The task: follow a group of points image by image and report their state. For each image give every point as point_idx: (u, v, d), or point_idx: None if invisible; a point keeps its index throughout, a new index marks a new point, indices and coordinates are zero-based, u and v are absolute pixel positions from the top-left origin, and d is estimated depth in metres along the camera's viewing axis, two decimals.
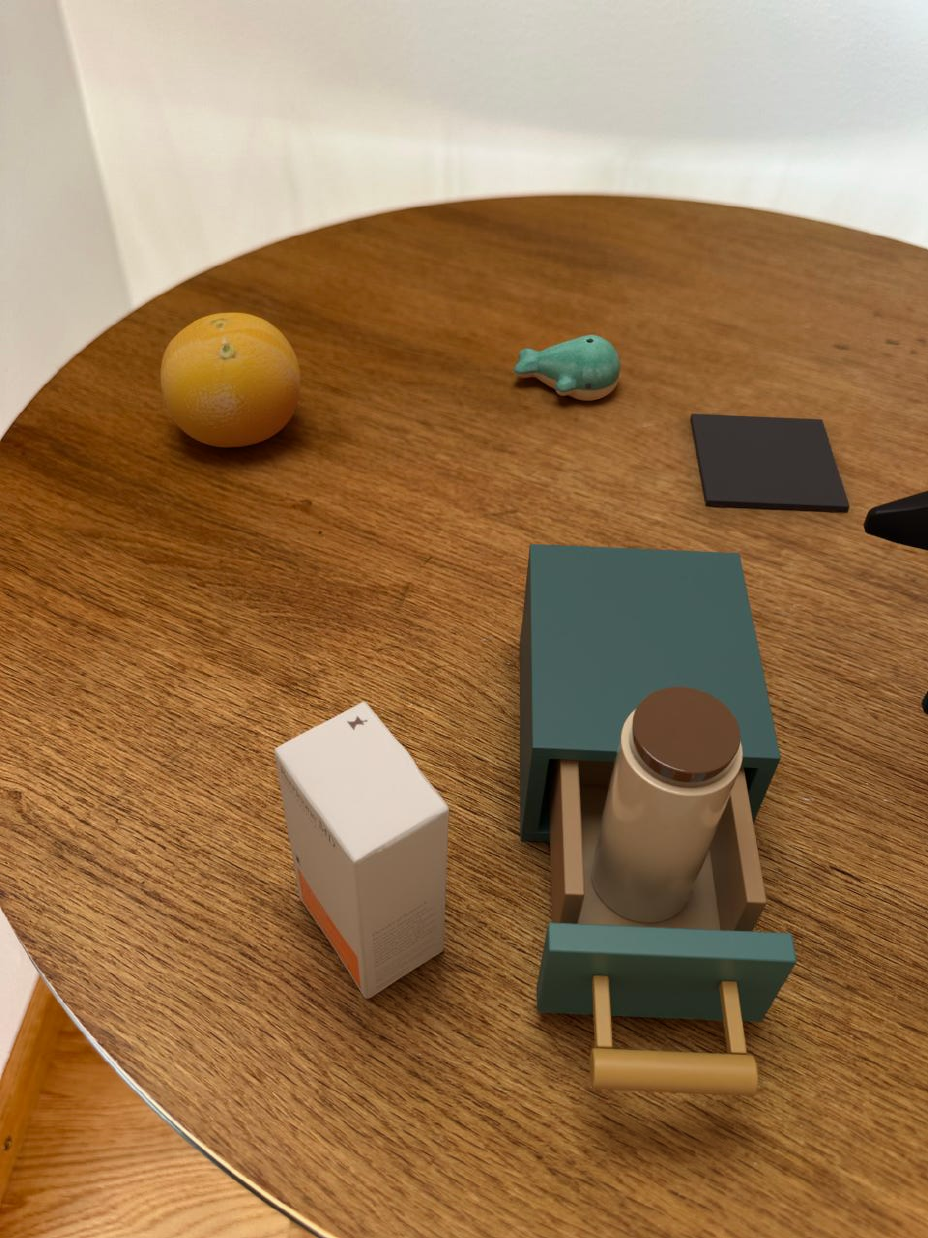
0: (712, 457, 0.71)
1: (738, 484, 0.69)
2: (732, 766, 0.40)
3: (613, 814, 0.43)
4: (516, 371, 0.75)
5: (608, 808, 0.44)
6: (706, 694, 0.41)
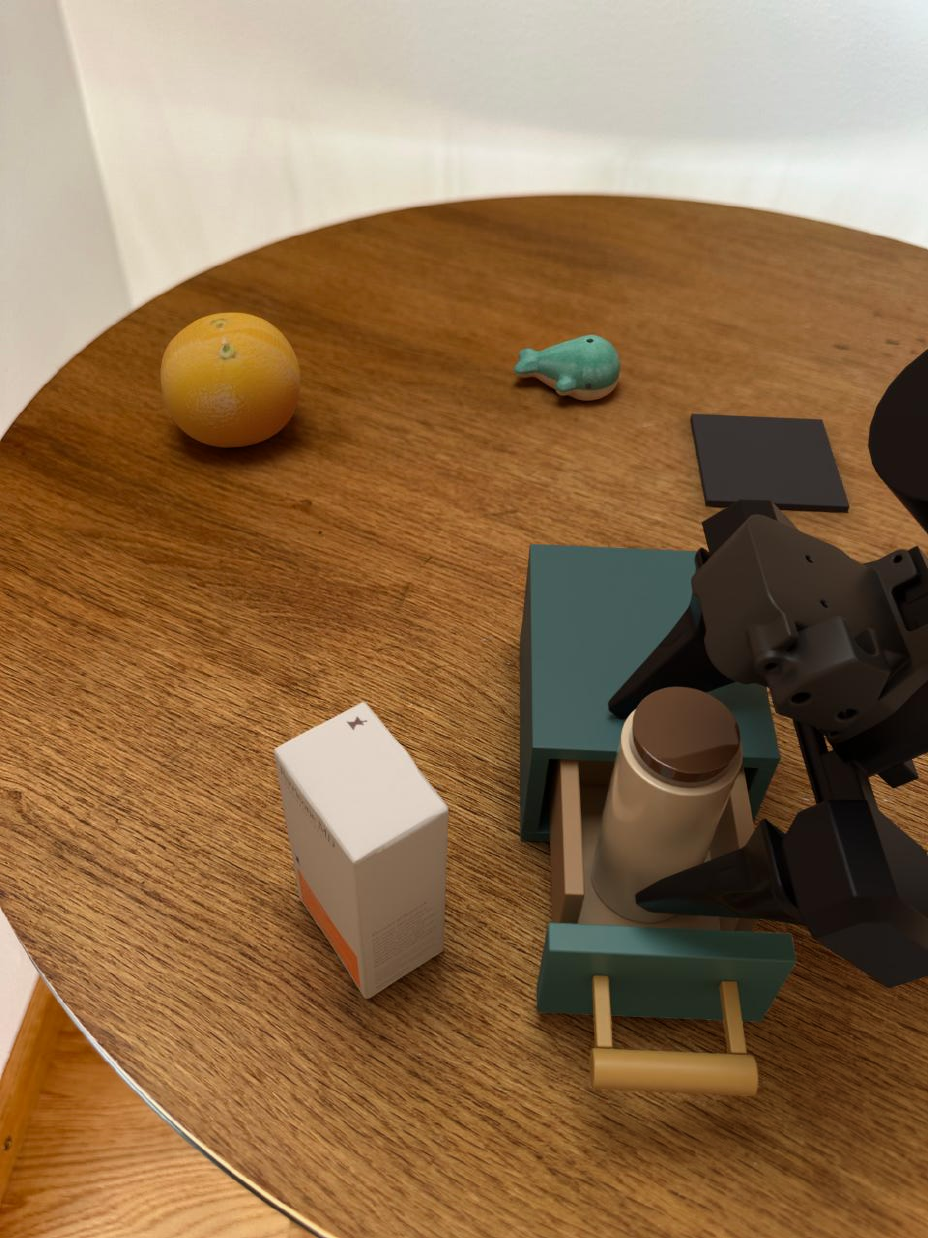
0: (712, 457, 0.71)
1: (738, 484, 0.69)
2: (732, 766, 0.40)
3: (613, 814, 0.43)
4: (516, 370, 0.75)
5: (608, 808, 0.44)
6: (706, 694, 0.41)
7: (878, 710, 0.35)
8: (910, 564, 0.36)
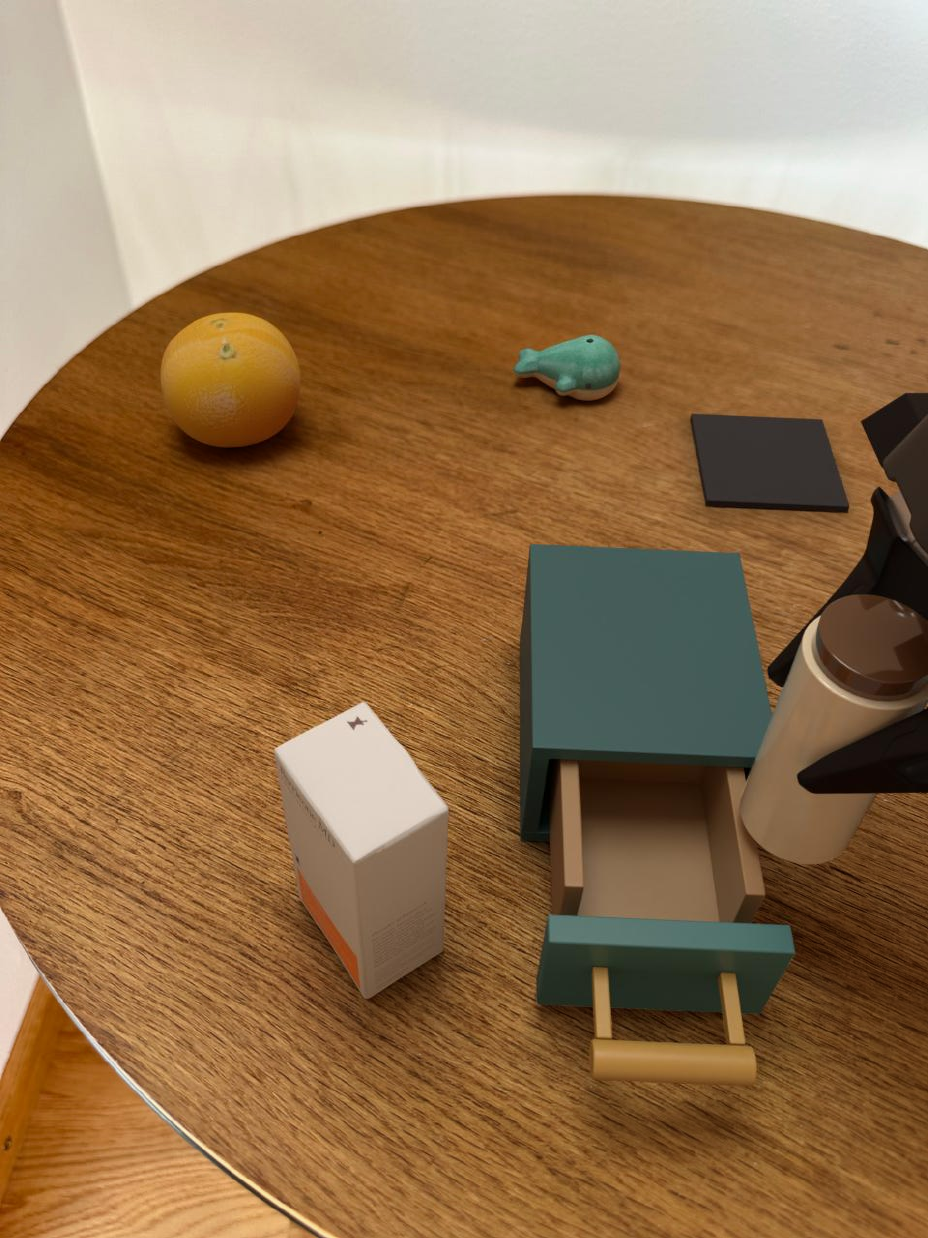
0: (712, 457, 0.71)
1: (738, 484, 0.69)
2: None
3: (785, 740, 0.39)
4: (516, 370, 0.75)
5: (776, 734, 0.40)
6: (895, 601, 0.37)
7: None
8: None
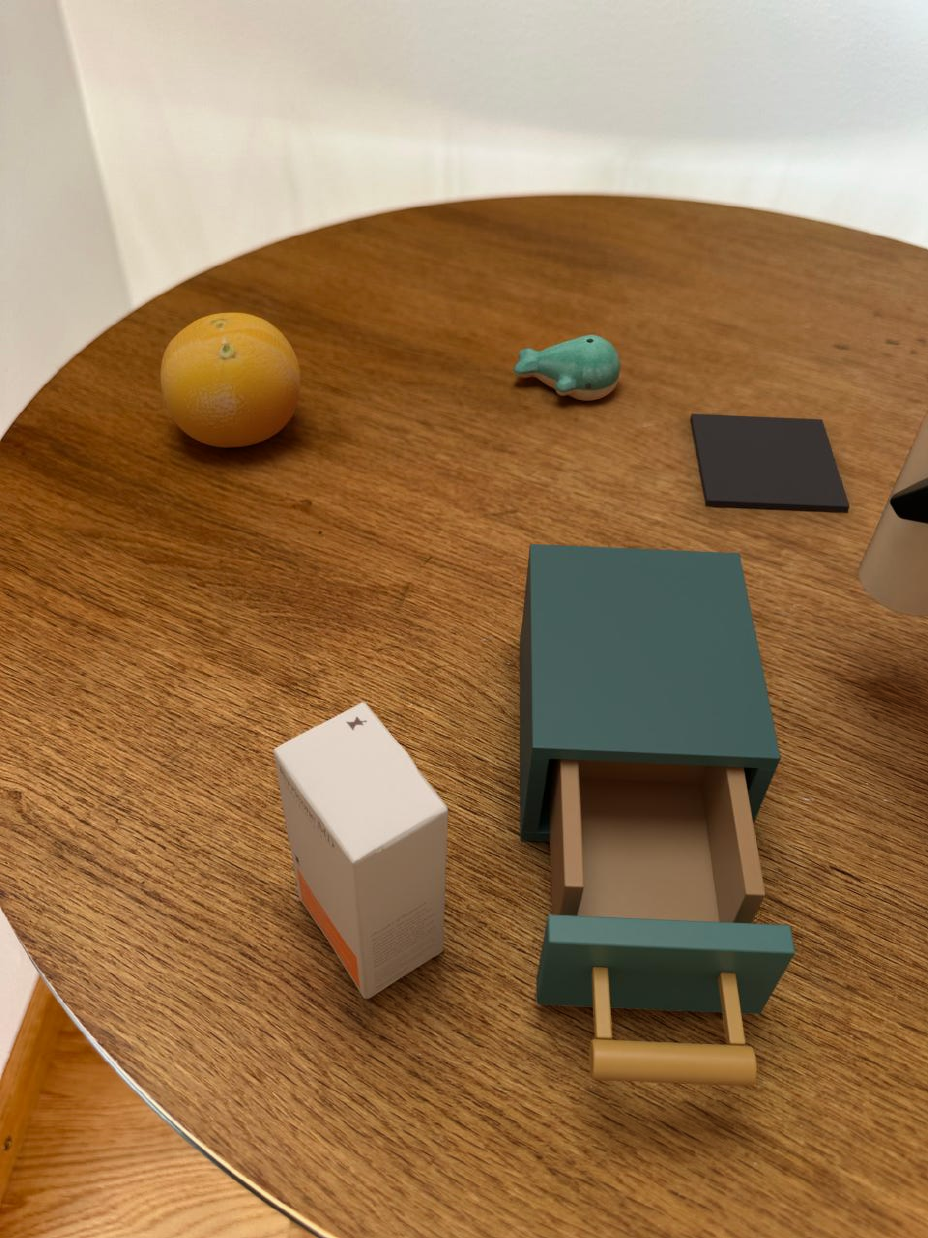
0: (712, 457, 0.71)
1: (738, 484, 0.69)
2: None
3: (900, 477, 0.49)
4: (516, 370, 0.75)
5: (898, 476, 0.49)
6: None
7: None
8: None
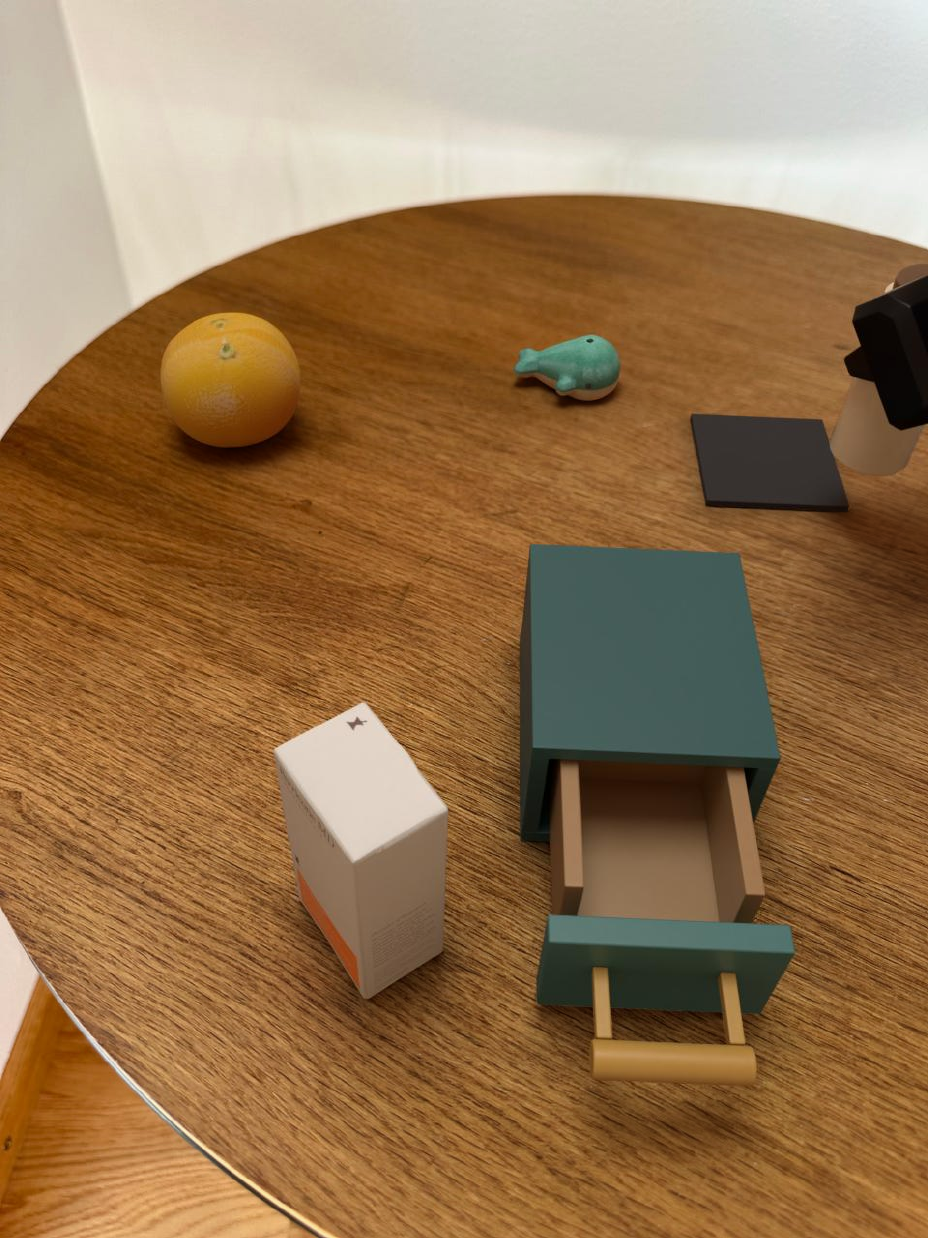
0: (712, 457, 0.71)
1: (738, 484, 0.69)
2: None
3: None
4: (516, 370, 0.75)
5: None
6: None
7: None
8: None
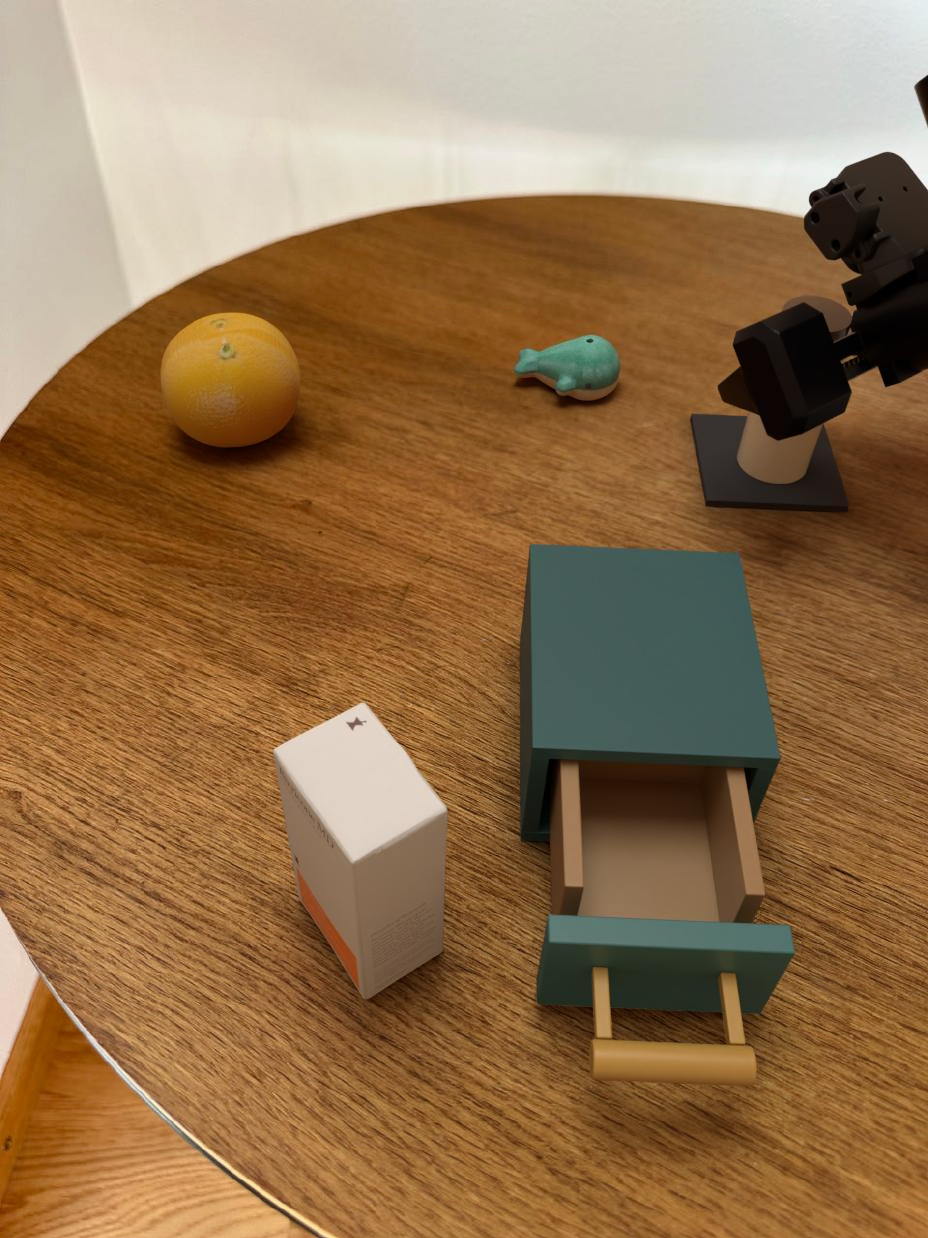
0: (712, 457, 0.71)
1: (738, 484, 0.69)
2: None
3: None
4: (516, 371, 0.75)
5: None
6: (849, 312, 0.63)
7: (873, 280, 0.55)
8: None
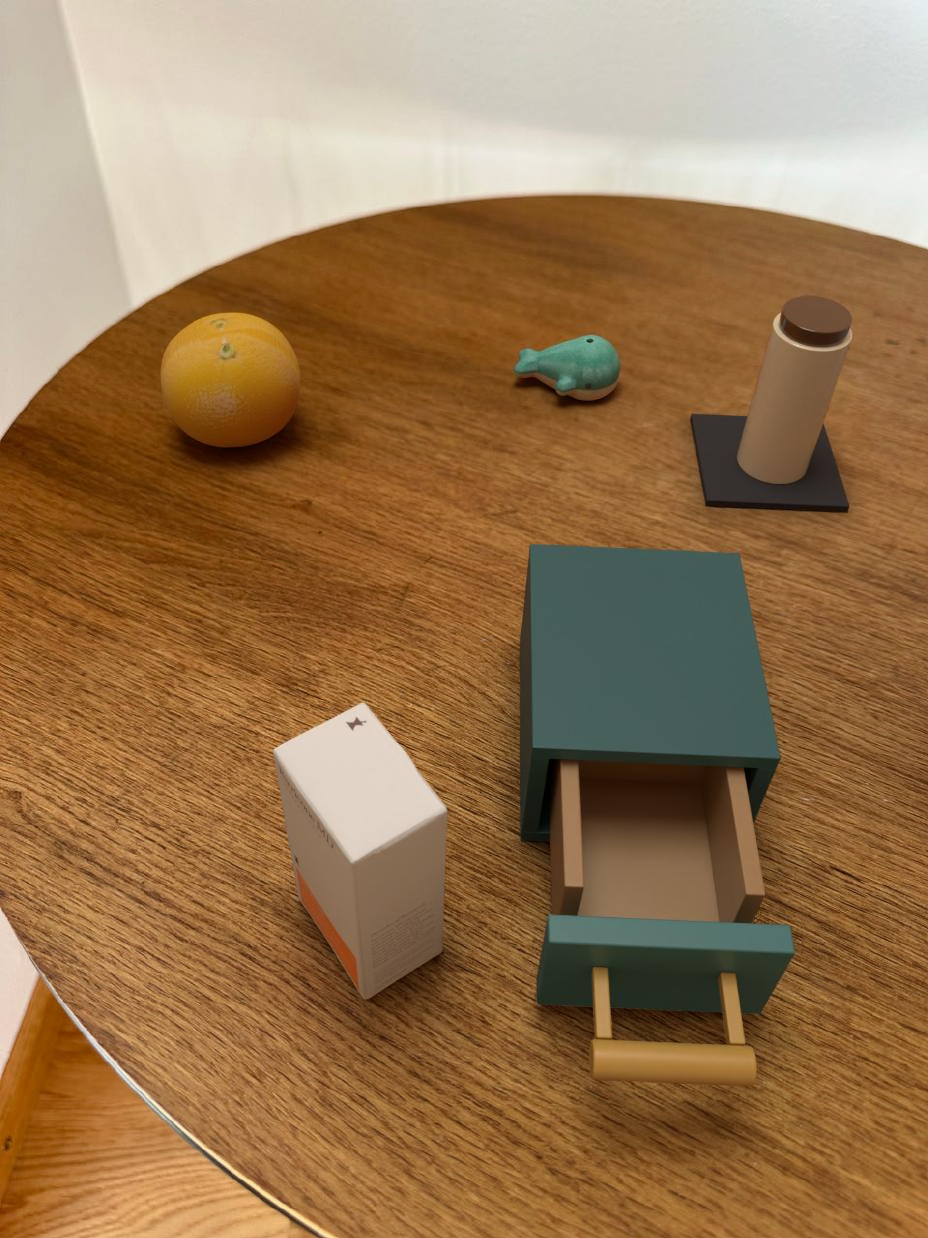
0: (712, 457, 0.71)
1: (738, 484, 0.69)
2: (823, 347, 0.62)
3: None
4: (516, 370, 0.75)
5: None
6: (849, 312, 0.63)
7: None
8: None
